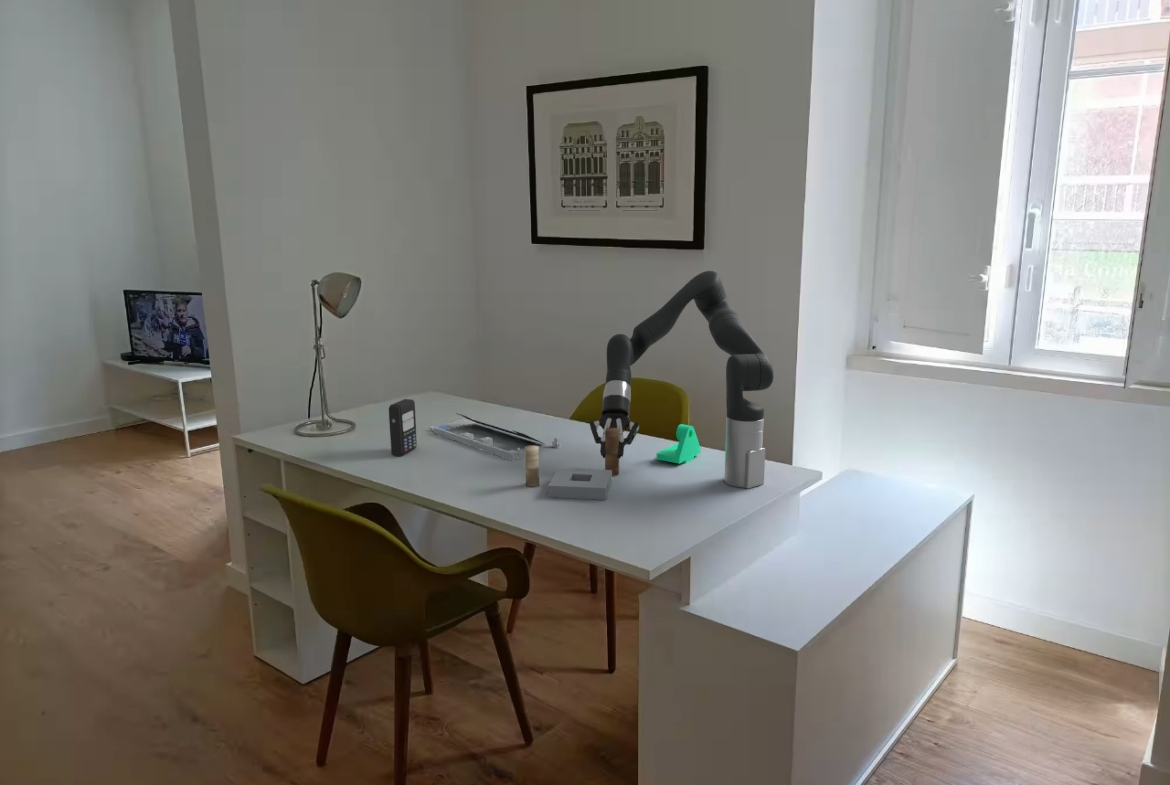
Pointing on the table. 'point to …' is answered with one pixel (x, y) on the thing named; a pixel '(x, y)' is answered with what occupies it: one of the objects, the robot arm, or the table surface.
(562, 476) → the bore plate
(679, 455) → the camera mount
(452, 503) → the table surface
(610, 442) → the walnut bar
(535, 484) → the beech dowel
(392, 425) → the card reader
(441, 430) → the paper cutter
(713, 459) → the table surface
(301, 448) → the table surface
